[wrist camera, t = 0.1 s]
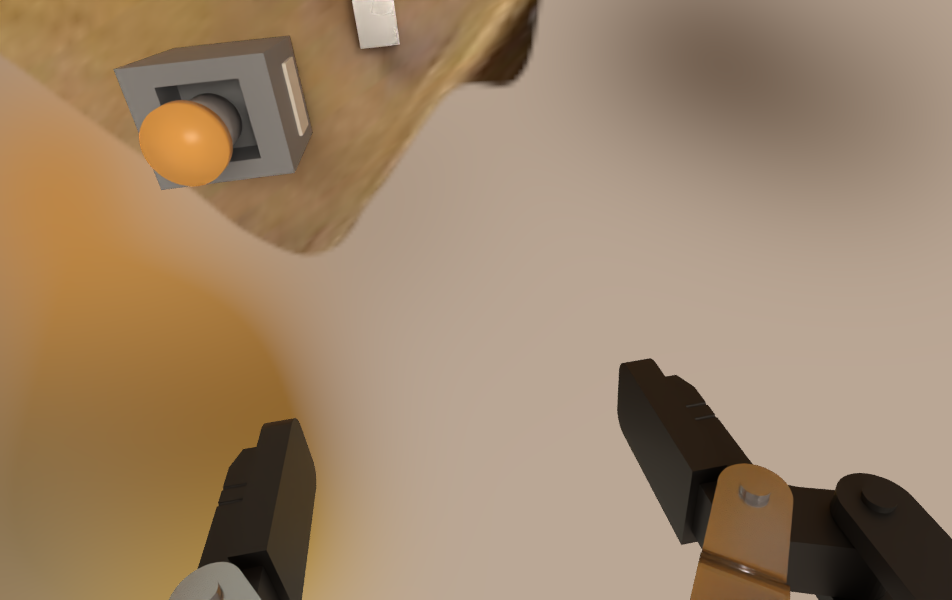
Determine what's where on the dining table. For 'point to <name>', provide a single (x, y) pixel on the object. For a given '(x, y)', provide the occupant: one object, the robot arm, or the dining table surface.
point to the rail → (376, 23)
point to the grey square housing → (231, 99)
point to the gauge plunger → (191, 138)
